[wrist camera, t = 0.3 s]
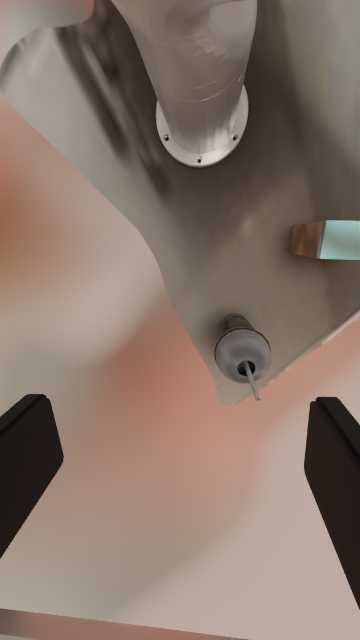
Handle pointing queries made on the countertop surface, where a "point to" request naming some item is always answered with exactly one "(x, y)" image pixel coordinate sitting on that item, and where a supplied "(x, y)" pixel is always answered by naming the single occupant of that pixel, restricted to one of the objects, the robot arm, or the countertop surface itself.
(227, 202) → the countertop surface
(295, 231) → the wooden block
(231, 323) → the beverage cup
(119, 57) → the countertop surface
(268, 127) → the countertop surface
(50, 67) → the countertop surface
